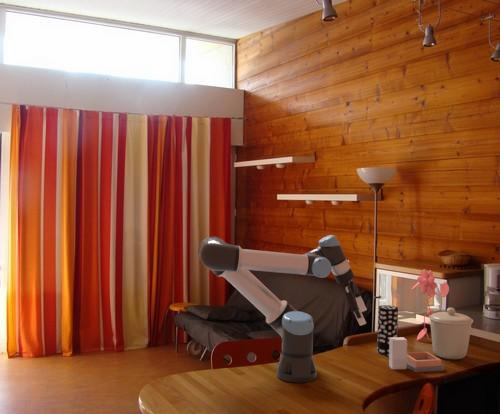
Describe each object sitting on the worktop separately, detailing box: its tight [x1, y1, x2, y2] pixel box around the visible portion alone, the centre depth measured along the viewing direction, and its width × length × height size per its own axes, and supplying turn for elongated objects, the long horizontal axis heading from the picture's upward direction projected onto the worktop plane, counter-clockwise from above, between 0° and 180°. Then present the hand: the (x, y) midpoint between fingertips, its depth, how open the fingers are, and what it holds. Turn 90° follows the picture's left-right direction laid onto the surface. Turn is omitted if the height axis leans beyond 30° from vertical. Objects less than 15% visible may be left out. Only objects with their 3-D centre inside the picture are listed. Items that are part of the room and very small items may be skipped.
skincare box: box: [388, 336, 408, 370], centre depth 228 cm, size 6×4×12 cm
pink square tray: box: [407, 351, 445, 373], centre depth 231 cm, size 13×13×4 cm
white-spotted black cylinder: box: [376, 304, 399, 357], centre depth 248 cm, size 8×8×20 cm
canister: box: [428, 307, 474, 360], centre depth 245 cm, size 18×18×21 cm
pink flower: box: [410, 268, 450, 352], centre depth 262 cm, size 15×26×35 cm, turn 22°
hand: (363, 317), depth 233 cm, fingers open, 13 cm apart
